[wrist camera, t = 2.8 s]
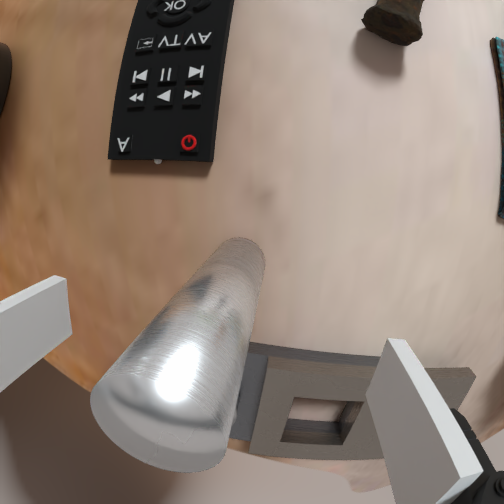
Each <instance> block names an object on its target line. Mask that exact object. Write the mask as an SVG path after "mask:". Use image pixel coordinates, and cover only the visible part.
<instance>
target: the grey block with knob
mask: <svg viewBox="0 0 504 504" xmlns="http://www.w3.org/2000/svg"><path fill="white" fill-rule="evenodd" d="M376 368H377V367H372V366H356V365H344V364H332V363H322V362H313V361H304V360H296V359H288V358H280V357H273V356H268V361H267V366H266V371H265V376H264V380H263V385H262V390H261V395H260V399H259V404H258V408H257V413H256V417H255V422H254V426H253V431H252V435H251V440H250V445H249V452H248V453H251V454H258V455H266V456H275V457H285V458H298V459H316V460H364V459H382V458H384V456H383V452H382V448H381V445H380V441H379V438H378V435H377V431H376V428H375V424H374V421H373V418H372V414H371V411H370V408H369V405H368V402H367V398H366V395H365V394H366V392H367V389H368V387H369V385H370V382H371V380H372V378H373V375H374V373H375V370H376ZM424 369H425V371H426V372H427V374H428V375H429V377H430V378H431V380H432V382H433V383H434V385H435V386H436V388H437V390H438V391H439V393H440V394H441V396H442V398H443V399H444V401H445V403H446V404H447V406H448V407H449V409H451V408H455V409H456V410H458V408H459V407H460V405H461V403H462V401H463V400H464V398H465V396H466V395H467V393H468V391H469V389H470V387H471V386H472V384H473V382H474V380H475V378H476V375H475V374H474V373H473V372H472V370H471V369H470V368H469V367H466V368H424ZM294 397H301V398H312V399H324V400H339V401H355V404H354V406H353V408H352V410H351V412H350V414H349V417H348V419H347V421H346V423H345V425H344V427H343V429H342V431H341V433H319V432H304V431H292V430H284V428H285V425H286V422H287V418H288V415H289V412H290V409H291V406H292V402H293V399H294Z"/></svg>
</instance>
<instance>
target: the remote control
mask: <svg viewBox="0 0 504 504" xmlns="http://www.w3.org/2000/svg"><path fill="white" fill-rule="evenodd" d="M233 5H234V0H138V3H137V6H136V9H135V13H134V16H133V19H132V23H131V27H130V30H129V34H128V38H127V42H126V46H125V50H124V55H123V59H122V64H121V69H120V74H119V79H118V84H117V90H116V96H115V102H114V109H113V116H112V123H111V131H110V140H109V151H108V159H111V160H152V159H154V162H155V163H156V164H160V163H161V162H162V159H163V160H181V161H203V162H213V159H214V149H215V139H216V129H217V120H218V111H219V103H220V95H221V86H222V79H223V71H224V64H225V57H226V50H227V43H228V36H229V30H230V23H231V17H232V11H233Z"/></svg>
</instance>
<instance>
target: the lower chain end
mask: <svg viewBox="0 0 504 504" xmlns="http://www.w3.org/2000/svg"><path fill="white" fill-rule="evenodd" d="M268 356H273V357H280V358H288V359H296V360H304V361H313V362H322V363H332V364H344V365H356V366H372V367H377V365H378V363H379V360H380V357H376V356H362V355H349V354H339V353H329V352H319V351H311V350H302V349H294V348H287V347H280V346H273V345H266V344H260V343H253V342H250V343H249V348H248V352H247V357H246V362H245V366H244V371H243V376H242V380H241V385H240V390H239V394H238V399H237V403H236V408H235V412H234V417H233V421H232V426H231V430H230V435H229V438H233V439H239V440H245V441H250V440H251V435H252V431H253V426H254V422H255V417H256V413H257V408H258V404H259V399H260V395H261V390H262V385H263V380H264V376H265V371H266V366H267V361H268ZM354 404H355V401H348V402H347V404H346V406H345V408H344V411H343V413H342V415H341V417H340V420H339V422H325V421H310V420H298V419H288V418H287V422H286V425H285V428H284V430H292V431H304V432H319V433H341V431H342V429H343V427H344V425H345V423H346V421H347V419H348V417H349V414H350V412H351V410H352V408H353V406H354Z"/></svg>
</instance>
